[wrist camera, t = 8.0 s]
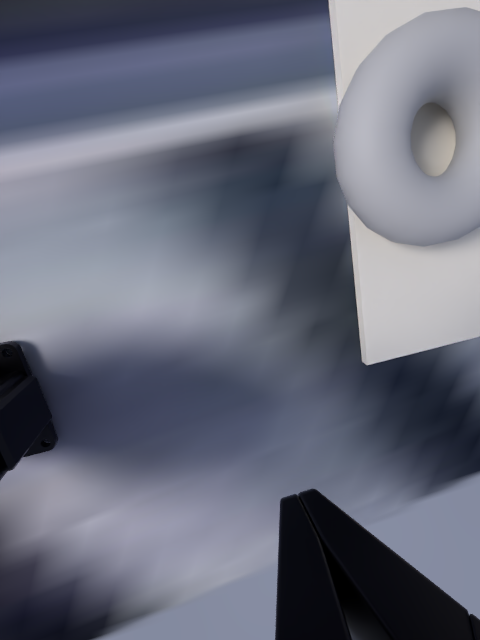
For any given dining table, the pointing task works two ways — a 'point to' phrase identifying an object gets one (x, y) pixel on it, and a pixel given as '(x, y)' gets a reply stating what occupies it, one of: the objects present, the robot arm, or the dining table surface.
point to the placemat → (395, 258)
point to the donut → (396, 123)
